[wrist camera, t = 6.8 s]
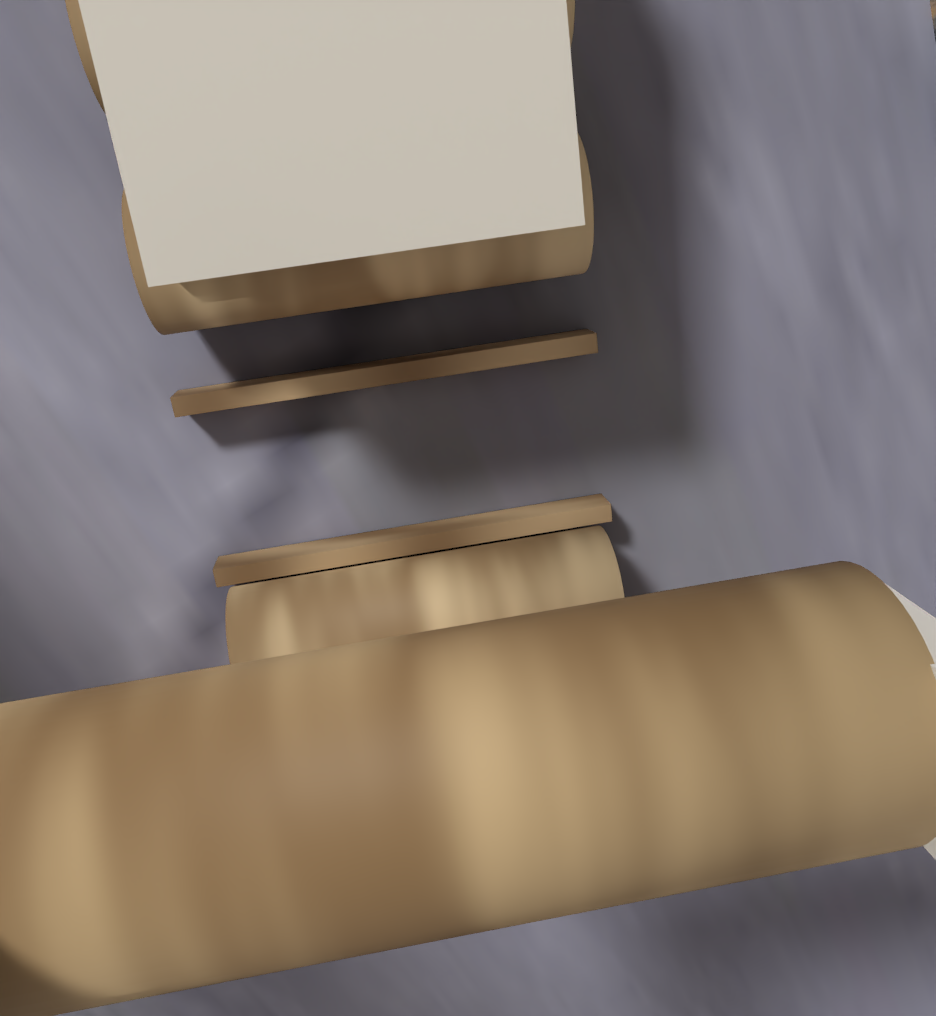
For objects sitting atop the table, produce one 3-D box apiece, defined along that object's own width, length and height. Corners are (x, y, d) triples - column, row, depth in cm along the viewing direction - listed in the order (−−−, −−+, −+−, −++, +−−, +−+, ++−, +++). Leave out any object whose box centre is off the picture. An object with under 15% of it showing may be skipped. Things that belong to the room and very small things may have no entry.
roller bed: (247, 675, 30) (231, 740, 27) (15, -279, 22) (-58, -386, 18) (611, 612, 31) (646, 665, 27) (530, -329, 23) (564, -440, 19)
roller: (93, 870, 14) (-4, 1104, 10) (22, 652, 13) (-118, 830, 9) (801, 740, 15) (949, 913, 11) (800, 523, 14) (967, 636, 10)
